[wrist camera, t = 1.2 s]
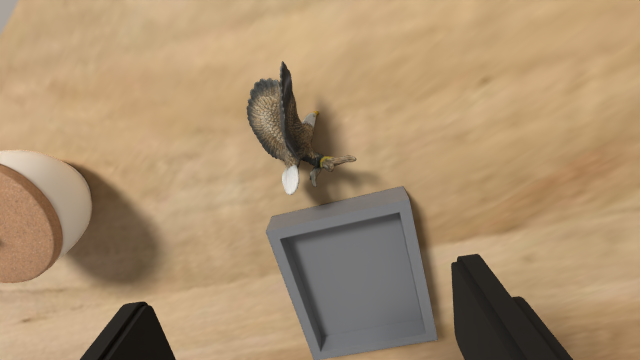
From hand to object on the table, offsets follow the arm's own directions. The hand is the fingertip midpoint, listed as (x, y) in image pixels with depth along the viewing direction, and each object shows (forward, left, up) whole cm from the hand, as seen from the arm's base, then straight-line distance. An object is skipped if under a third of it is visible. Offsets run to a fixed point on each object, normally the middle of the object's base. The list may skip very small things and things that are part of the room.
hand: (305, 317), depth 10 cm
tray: (+1, +14, -22) cm, 26 cm away
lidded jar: (+27, -2, -22) cm, 35 cm away
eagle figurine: (+2, -2, -22) cm, 22 cm away
